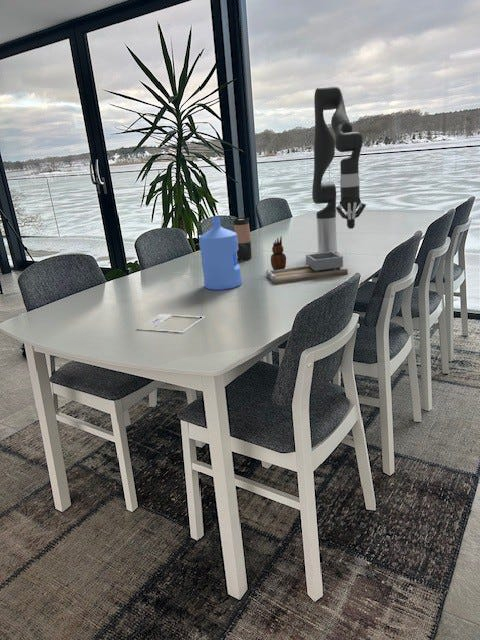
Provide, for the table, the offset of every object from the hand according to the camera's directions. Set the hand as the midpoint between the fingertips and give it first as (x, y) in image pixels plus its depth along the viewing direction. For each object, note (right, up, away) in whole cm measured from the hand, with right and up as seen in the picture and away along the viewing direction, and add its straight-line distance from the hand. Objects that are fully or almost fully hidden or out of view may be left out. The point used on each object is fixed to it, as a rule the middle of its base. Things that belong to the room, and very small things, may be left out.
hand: (350, 228), depth 206 cm
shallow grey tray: (-10, -17, +4) cm, 20 cm away
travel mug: (-43, -7, +45) cm, 63 cm away
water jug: (-53, -24, +1) cm, 58 cm away
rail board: (-18, -19, +3) cm, 26 cm away
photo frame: (-69, -40, -40) cm, 89 cm away
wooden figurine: (-28, -16, +16) cm, 36 cm away
